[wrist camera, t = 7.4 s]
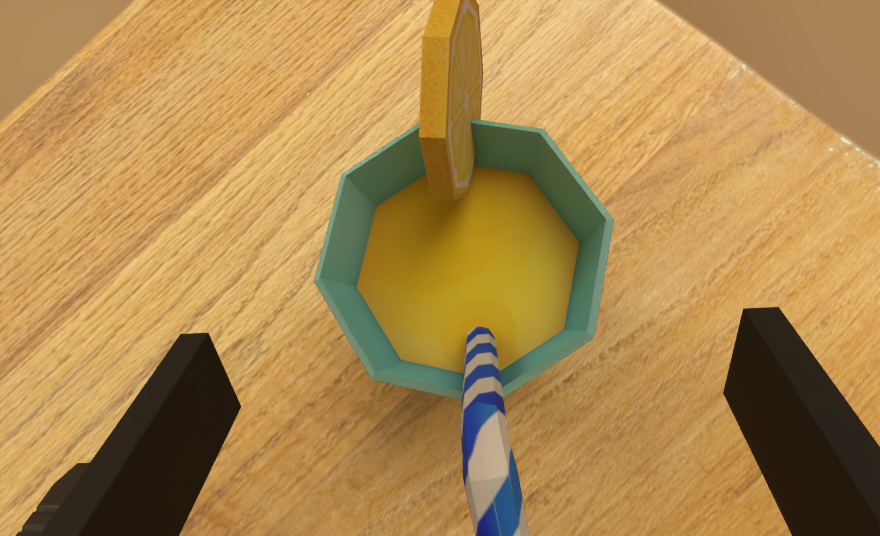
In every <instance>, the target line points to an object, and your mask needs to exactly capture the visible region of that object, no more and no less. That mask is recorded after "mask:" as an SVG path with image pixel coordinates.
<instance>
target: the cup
mask: <svg viewBox="0 0 880 536" xmlns="http://www.w3.org/2000/svg"><path fill="white" fill-rule="evenodd" d="M482 81H483V64H482V49H481V34H480V18H479V5H478V4H477V2H476V0H434V3H433V6H432V9H431V12H430V15H429V18H428V21H427V25H426V28H425V31H424V34H423V37H422V65H421V94H420V123H419V124H417V125H416V126H414V127H413V128H411V129H409V130H408V131H406V132H405V133H403V134H402V135H400V136H399V137H397V138H396V139H394V140H393V141H391V142H390V143H388V144H387V145H385V146H384V147H382V148H381V149H379V150H378V151H376V152H375V153H373V154H372V155H370V156H369V157H367V158H366V159H364V160H362V161H361V162H359V163H358V164H356V165H355V166H353V167H352V168H350V169H349V170H347V171H346V172H344V173H343V174H341V178H340V182H339V186H338V190H337V194H336V197H335V201H334V205H333V209H332V213H331V217H330V221H329V225H328V228H327V232H326V236H325V240H324V244H323V248H322V252H321V256H320V259H319V263H318V267H317V271H316V275H315V279H314V282H315V284H316V286H317V287H318V289H319V291H320V293H321V294H322V296H323V298H324V299H325V301H326V303H327V304H328V306H329V308H330V310H331V311H332V313H333V315H334V316H335V318H336V320H337V321H338V323H339V325H340V327H341V328H342V330H343V332H344V333H345V335H346V337H347V338H348V340H349V342H350V344H351V345H352V347H353V349H354V350H355V352H356V354H357V355H358V357H359V359H360V360H361V362H362V364H363V366H364V367H365V369H366V371H367V372H368V374H369V376H370V377H371V379H372V380H376V381H380V382H385V383H389V384H394V385H398V386H402V387H407V388H411V389H415V390H420V391H424V392H428V393H433V394H437V395H441V396H446V397H450V398H454V399H459V400H462V408H461V426H460V429H461V441H462V455H463V480H464V485H465V489H466V494H467V499H468V504H469V508H470V513H471V518H472V523H473V527H474V532H475V536H530V535H529V529H528V524H527V519H526V513H525V508H524V503H523V498H522V492H521V487H520V482H519V477H518V471H517V467H516V463H515V460H514V456H513V452H512V448H511V445H510V439H509V434H508V428H507V422H506V415H505V408H504V401H503V398H504V397H505V396H507V395H508V394H510V393H511V392H513V391H514V390H516V389H517V388H519V387H520V386H522V385H524V384H525V383H527V382H528V381H530V380H531V379H533V378H534V377H536V376H537V375H539V374H540V373H542V372H543V371H545V370H546V369H548V368H549V367H551V366H552V365H554V364H555V363H557V362H558V361H560V360H561V359H563V358H564V357H566V356H568V355H569V354H571V353H572V352H574V351H575V350H577V349H578V348H580V347H581V346H583V345H584V344H586V343H587V342H589V341H590V340H592V339H593V338H594V335H595V329H596V323H597V317H598V311H599V305H600V299H601V294H602V288H603V282H604V276H605V270H606V264H607V258H608V252H609V246H610V240H611V234H612V228H613V222H614V219H613V218H612V217H611V215H610V214H609V213H608V211H607V210H606V209H605V207H604V206H603V205H602V204H601V202H600V201H599V200H598V198H597V197H596V196H595V194H594V193H593V192H592V191H591V189H590V188H589V187H588V185H587V184H586V183H585V182H584V180H583V179H582V178H581V176H580V175H579V174H578V172H577V171H576V170H575V169H574V167H573V166H572V165H571V163H570V162H569V161H568V159H567V158H566V157H565V156H564V154H563V153H562V152H561V150H560V149H559V148H558V146H557V145H556V144H555V143H554V141H553V140H552V139H551V137H550V136H549V135H548V133H547V132H546V131H545V130H544V129H539V128H532V127H525V126H518V125H511V124H504V123H497V122H490V121H483V120H480V116H481V99H482Z"/></svg>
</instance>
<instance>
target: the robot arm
mask: <svg viewBox="0 0 880 536" xmlns="http://www.w3.org/2000/svg"><path fill="white" fill-rule="evenodd" d="M723 394H724V396H725V398H726V400H727V402H728V404H729V406H730V408H731V410H732V412H733V414H734V416H735V418H736V421H737V423H738V425H739V427H740V429H741V431H742V433H743V435H744V437H745V439H746V441H747V443H748V445H749V447H750V449H751V451H752V454H753V456H754V458H755V460H756V462H757V464H758V466H759V468H760V470H761V472H762V474H763V476H764V478H765V480H766V482H767V484H768V487H769V489H770V491H771V493H772V495H773V497H774V499H775V501H776V503H777V505H778V507H779V509H780V511H781V513H782V515H783V518H784V520H785V522H786V524H787V526H788V528H789V530H790V532H791V534H792V536H880V447H879V445H878V444H877V443H876V441H875V440H874V438H873V437H872V436H871V434H870V433H869V431H868V430H867V429H866V427H865V426H864V425H863V423H862V422H861V420H860V419H859V418H858V416H857V415H856V413H855V412H854V411H853V409H852V408H851V407H850V405H849V404H848V402H847V401H846V400H845V398H844V397H843V396H842V394H841V393H840V391H839V390H838V389H837V387H836V386H835V384H834V383H833V382H832V380H831V379H830V378H829V376H828V375H827V373H826V372H825V371H824V369H823V368H822V366H821V365H820V364H819V362H818V361H817V360H816V358H815V357H814V355H813V354H812V353H811V351H810V350H809V349H808V347H807V346H806V344H805V343H804V342H803V340H802V339H801V337H800V336H799V335H798V333H797V332H796V331H795V329H794V328H793V326H792V325H791V324H790V322H789V321H788V319H787V318H786V317H785V315H784V314H783V313H782V311H781V310H780V308H779V307H770V308H748V309H743V312H742V316H741V320H740V325H739V329H738V333H737V337H736V341H735V346H734V350H733V354H732V358H731V363H730V367H729V371H728V375H727V379H726V384H725V388H724V392H723ZM240 408H241V405H240V403H239V401H238V398H237V396H236V394H235V392H234V389H233V387H232V385H231V383H230V380H229V378H228V376H227V374H226V371H225V369H224V367H223V365H222V362H221V360H220V358H219V356H218V353H217V351H216V349H215V347H214V344H213V342H212V340H211V338H210V335H209V333H193V334H180V336H179V337H178V339H177V340H176V341H175V343H174V344H173V346H172V347H171V349H170V350H169V351H168V353H167V354H166V356H165V357H164V358H163V360H162V361H161V363H160V364H159V366H158V367H157V368H156V370H155V371H154V373H153V374H152V376H151V377H150V378H149V380H148V381H147V383H146V384H145V386H144V387H143V388H142V390H141V391H140V393H139V394H138V395H137V397H136V398H135V400H134V401H133V403H132V404H131V405H130V407H129V408H128V410H127V411H126V413H125V414H124V415H123V417H122V418H121V420H120V421H119V423H118V424H117V425H116V427H115V428H114V430H113V431H112V432H111V434H110V435H109V437H108V438H107V440H106V441H105V442H104V444H103V445H102V447H101V448H100V450H99V451H98V452H97V454H96V455H95V457H94V458H93V460H92V461H91V462H90V463H77V464H76V465H75V466H74V467H73V468H72V469H71V470H69V471H68V472H67V473H66V474H65V475H64V476H63V477H61V478H60V479H59V480H58V481H57V482H56V483H55V484H54V485H53V486H52V487H51V489H50V490H49V491H48V493H47V494H46V495H45V497H44V498H43V499H42V501H41V502H40V504H39V505H38V506H37V511H36V512H33V513H32V514H31V516H30V517H29V518H28V520H27V521H26V522H25V524H24V525H23V527H22V528H23V529H22V531H21V532H18V533H17V535H16V536H179V535H180V532H181V530H182V528H183V526H184V524H185V522H186V520H187V518H188V516H189V514H190V512H191V510H192V508H193V506H194V503H195V501H196V499H197V497H198V495H199V493H200V491H201V489H202V487H203V485H204V483H205V481H206V479H207V476H208V474H209V472H210V470H211V468H212V466H213V464H214V462H215V460H216V458H217V456H218V454H219V452H220V449H221V447H222V445H223V443H224V441H225V439H226V437H227V435H228V433H229V431H230V429H231V427H232V425H233V423H234V420H235V418H236V416H237V414H238V412H239V410H240Z"/></svg>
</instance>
